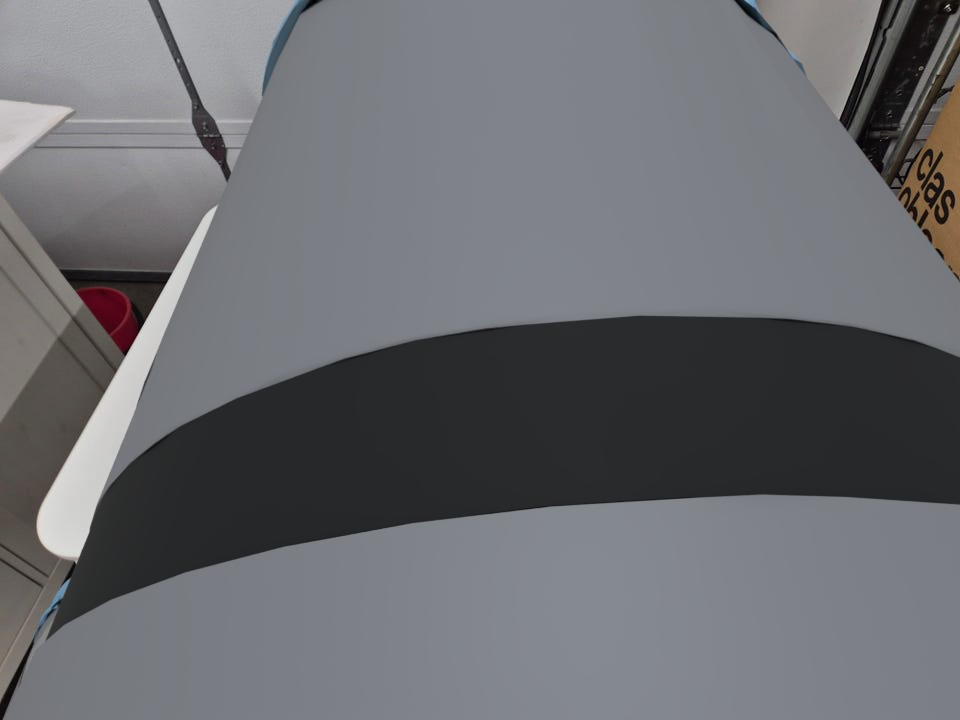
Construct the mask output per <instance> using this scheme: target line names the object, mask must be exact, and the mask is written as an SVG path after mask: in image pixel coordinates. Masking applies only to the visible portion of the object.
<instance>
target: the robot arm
mask: <svg viewBox="0 0 960 720" xmlns="http://www.w3.org/2000/svg"><path fill="white" fill-rule="evenodd" d="M261 97H262V98H261V99H260V101H259V105H258V107H257V110H256V112H255V114H254V117H253V120H252V122H251V124H250V127H249V129H248V131H247V134H246V137H245V138H244V141H243V144H242V146H241V149H240V151H239V153H238V156H237V158H236V161H235V163H234V166H233V169H232V170H231V173H230V175H229V178H228V180H227V182H226V185H225V187H224V189H223V192H222V194H221V197H220V199H219V202H218V204H217V206H216V209H215V210H214V213H213V216H212V218H211V221H210V223H209V226H208V228H207V230H206V233H205V235H204V237H203V240H202V242H201V245H200V247H199V250H198V252H197V254H196V257H195V259H194V261H193V263H192V266H191V267H190V268H191V269H190V271H189V273H188V276H187V278H186V281H185V283H184V286H183V288H182V290H181V292H180V294H179V297H178V300H177V302H176V304H175V307H174V309H173V311H172V314H171V317H170V319H169V322H168V323H167V326H166V328H165V330H164V333H163V336H162V338H161V340H160V343H159V345H158V348H157V351H156V352H155V355H154V358H153V360H152V362H151V365H150V367H149V370H148V372H147V375H146V377H145V380H144V382H143V385H142V388H141V391H140V394H139V397H138V400H137V403H136V406H135V410H134V412H133V415H132V417H131V420H130V422H129V425H128V427H127V430H126V432H125V434H124V437H123V438H122V441H121V444H120V446H119V449H118V451H117V453H116V456H115V459H114V461H113V464H112V467H111V469H110V471H109V474H108V476H107V478H106V481H105V483H104V486H103V488H102V491H101V493H100V496H99V498H98V501H97V503H96V506H95V509H94V513H93V516H92V519H91V522H90V526H89V532H88V534H87V536H86V539H85V541H84V544H83V547H82V549H81V551H80V554H79V556H78V559H77V561H76V564H75V567H74V569H73V570H72V571H73V572H72V573H71V576H70V578H69V579H67V580H66V581H65V582H64V583H63V584H62V586H60V588H59V589H58V591H57V592H56V594H55V595H54V598H53V600H52V602H51V604H50V606H49V607H48V608H46V610H45V611H44V612H43V614H42V615H41V617H40V619H39V622H38V625H37V627H36V630H35V634H34V637H33V638H34V639H33V644H32V648H31V650H30V652H29V655H28V657H27V659H26V662H25V664H24V666H23V669H22V672H21V674H20V676H19V678H18V682H17V683H16V687H15V689H14V691H13V693H12V696H11V698H10V701H9V703H8V706H7V708H6V710H5V713H4V715H3V718H2V720H960V280H959V279H958V277H957V276H956V275H955V274H954V272H953V271H952V269H951V268H950V267H949V266H948V265H947V263H946V261H945V260H944V259H943V258H942V256H941V255H940V253H939V252H938V251H937V250H936V248H935V247H934V245H933V244H932V243H931V241H930V240H929V239H928V238H927V236H926V234H925V233H924V232H923V231H922V229H921V228H920V227H919V225H918V224H917V223H916V221H915V220H914V219H913V218H912V216H911V215H910V214H909V212H908V210H907V209H906V208H905V207H904V205H903V204H902V203H901V201H900V200H899V199H898V197H897V196H896V195H895V193H894V192H893V191H892V189H891V188H890V186H889V185H888V184H887V182H886V181H885V180H884V178H883V177H882V176H881V174H880V173H879V172H878V171H877V169H876V167H874V165H873V164H872V162H871V161H870V160H869V159H868V157H867V156H866V154H865V153H864V151H862V149H861V148H860V147H859V145H858V144H857V142H856V141H855V140H854V138H853V137H852V136H851V134H850V133H849V131H848V130H847V129H846V128H845V127H844V125H843V124H842V122H841V121H840V119H839V118H838V117H837V115H836V114H835V112H834V111H833V110H832V109H831V107H830V106H829V105H828V104H827V102H826V101H825V99H824V98H823V97H822V95H821V94H820V93H819V91H818V90H817V89H816V88H815V86H814V84H813V83H812V82H811V81H810V80H809V78H808V76H807V74H806V71H805V68H804V65H803V63H802V61H801V60H800V58H798V56H796V55H795V54H794V53H793V52H792V51H790V50H789V49H788V48H787V47H786V45H785V44H784V43H783V41H782V39H781V38H780V37H779V35H778V33H777V32H776V31H775V30H774V29H773V27H772V26H771V25H770V24H769V23H768V21H767V20H765V18H764V17H763V15H762V12H761V11H760V9H759V6H758V4H757V3H756V1H755V0H295V1H294V3H293V4H292V6H291V7H290V9H289V10H288V13H287V14H286V15H285V17H284V19H283V21H282V22H281V24H280V26H279V29H278V31H277V33H276V35H275V37H274V39H273V41H272V44H271V47H270V51H269V53H268V56H267V60H266V64H265V68H264V75H263V81H262V87H261Z"/></svg>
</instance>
